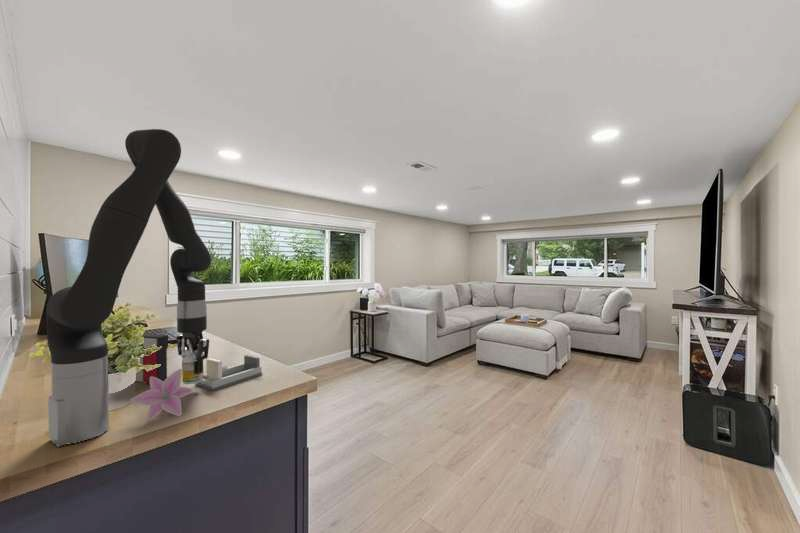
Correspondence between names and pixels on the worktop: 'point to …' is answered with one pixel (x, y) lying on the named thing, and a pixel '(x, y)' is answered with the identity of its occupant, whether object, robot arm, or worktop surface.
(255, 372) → the pusher lane
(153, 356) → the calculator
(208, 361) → the spring paddle
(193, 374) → the supplement bottle
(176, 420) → the worktop surface
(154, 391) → the lily
